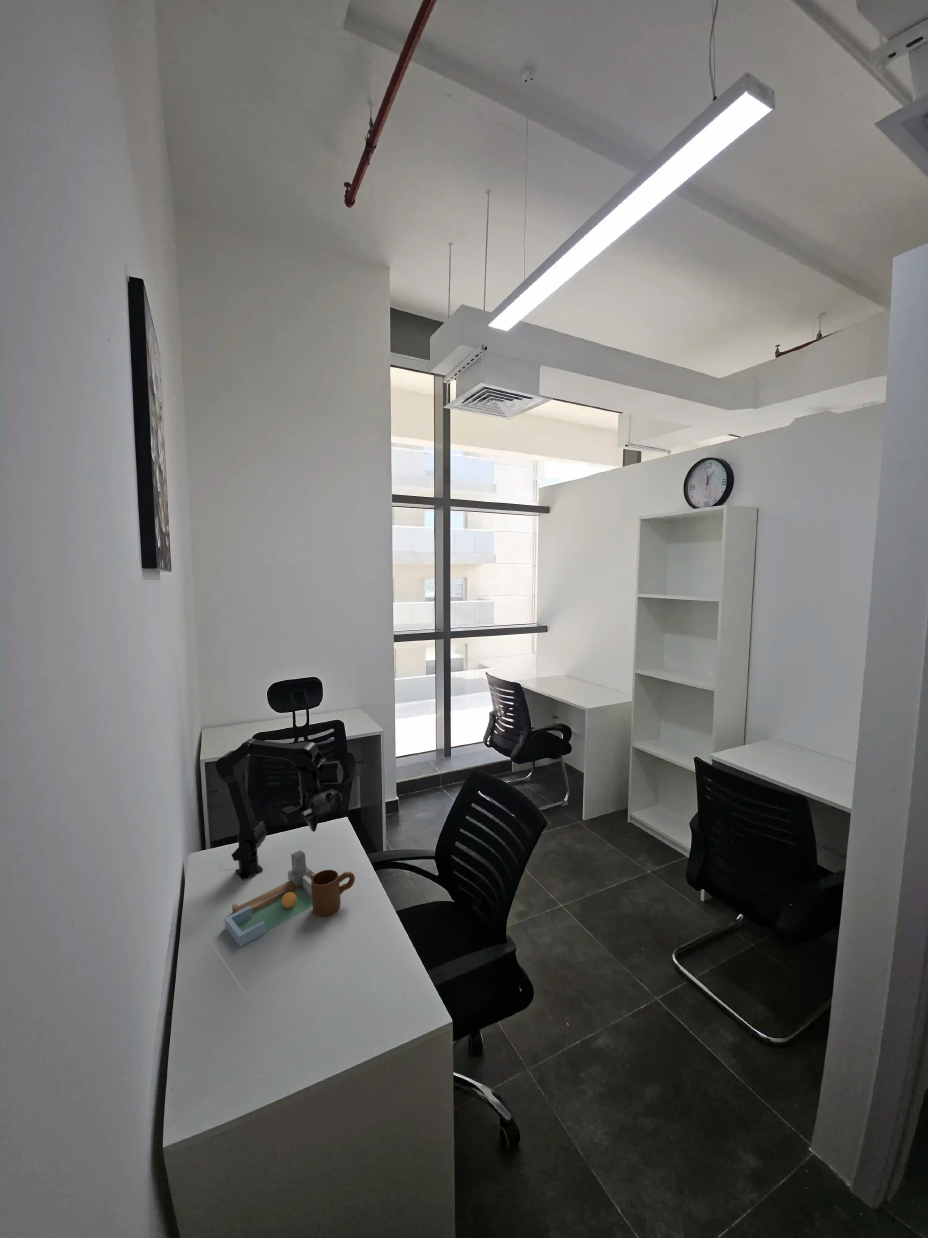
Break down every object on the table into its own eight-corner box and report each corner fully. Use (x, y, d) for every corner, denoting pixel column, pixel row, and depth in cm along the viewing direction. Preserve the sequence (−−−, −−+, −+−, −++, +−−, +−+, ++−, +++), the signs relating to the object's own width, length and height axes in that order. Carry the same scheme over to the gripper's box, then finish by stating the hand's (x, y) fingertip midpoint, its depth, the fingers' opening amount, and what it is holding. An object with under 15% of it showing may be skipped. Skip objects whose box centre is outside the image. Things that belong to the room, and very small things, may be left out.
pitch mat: (225, 927, 131) (225, 926, 131) (298, 889, 146) (298, 889, 146) (239, 946, 124) (239, 945, 124) (315, 904, 139) (315, 904, 139)
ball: (279, 907, 138) (278, 894, 137) (292, 900, 141) (291, 887, 140) (285, 913, 135) (284, 900, 135) (299, 906, 138) (298, 893, 137)
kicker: (288, 882, 148) (286, 854, 147) (303, 874, 151) (301, 847, 151) (308, 900, 139) (306, 871, 138) (323, 891, 143) (322, 863, 142)
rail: (232, 913, 136) (231, 905, 136) (308, 875, 153) (307, 867, 152) (239, 921, 133) (238, 913, 133) (316, 881, 149) (315, 874, 149)
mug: (354, 892, 143) (352, 862, 142) (358, 908, 136) (356, 877, 135) (311, 904, 139) (309, 873, 138) (314, 921, 132) (312, 889, 131)
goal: (225, 928, 130) (224, 918, 130) (250, 915, 135) (249, 905, 135) (240, 947, 123) (239, 936, 123) (265, 933, 128) (264, 922, 128)
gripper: (293, 802, 140) (298, 853, 141) (349, 779, 153) (353, 827, 154) (276, 792, 147) (281, 840, 149) (330, 771, 161) (334, 816, 162)
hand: (313, 831), depth 153 cm, fingers closed
